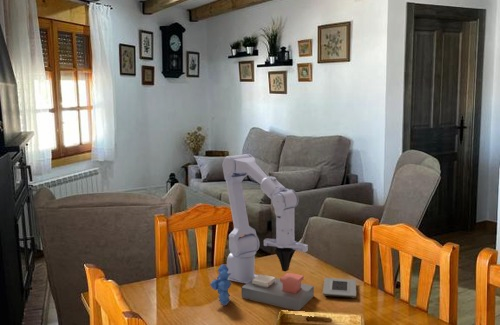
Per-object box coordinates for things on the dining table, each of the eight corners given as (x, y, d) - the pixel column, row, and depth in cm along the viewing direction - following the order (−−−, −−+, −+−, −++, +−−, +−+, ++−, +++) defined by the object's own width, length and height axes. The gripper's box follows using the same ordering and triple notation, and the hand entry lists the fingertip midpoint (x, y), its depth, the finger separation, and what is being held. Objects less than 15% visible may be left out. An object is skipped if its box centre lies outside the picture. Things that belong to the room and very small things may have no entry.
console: (241, 297, 160) (241, 287, 160) (259, 284, 171) (259, 274, 170) (298, 310, 151) (298, 300, 150) (313, 296, 161) (313, 285, 161)
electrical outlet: (355, 301, 158) (356, 294, 157) (322, 299, 160) (322, 292, 159) (355, 285, 170) (355, 279, 170) (324, 283, 172) (324, 276, 172)
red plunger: (280, 294, 157) (280, 278, 156) (287, 287, 162) (287, 272, 161) (296, 297, 154) (296, 281, 153) (303, 291, 159) (303, 275, 158)
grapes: (210, 294, 163) (209, 259, 161) (230, 294, 163) (230, 259, 161) (210, 310, 151) (209, 273, 149) (232, 309, 152) (232, 272, 150)
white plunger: (252, 295, 162) (252, 279, 161) (260, 288, 167) (260, 274, 166) (267, 298, 159) (267, 283, 159) (275, 292, 164) (275, 277, 163)
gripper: (258, 228, 156) (259, 270, 158) (301, 235, 149) (301, 278, 151) (269, 223, 162) (269, 263, 164) (310, 229, 155) (310, 270, 157)
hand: (285, 270), depth 158 cm, fingers closed
